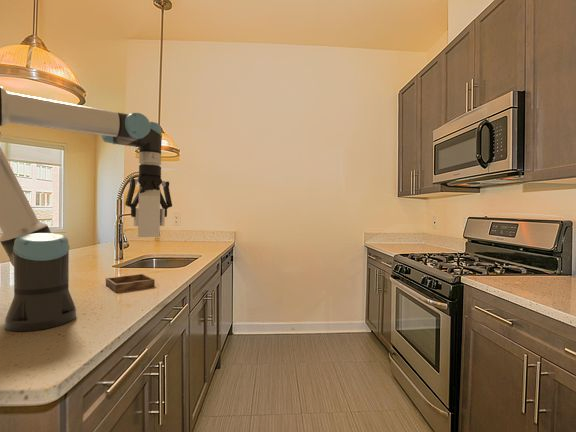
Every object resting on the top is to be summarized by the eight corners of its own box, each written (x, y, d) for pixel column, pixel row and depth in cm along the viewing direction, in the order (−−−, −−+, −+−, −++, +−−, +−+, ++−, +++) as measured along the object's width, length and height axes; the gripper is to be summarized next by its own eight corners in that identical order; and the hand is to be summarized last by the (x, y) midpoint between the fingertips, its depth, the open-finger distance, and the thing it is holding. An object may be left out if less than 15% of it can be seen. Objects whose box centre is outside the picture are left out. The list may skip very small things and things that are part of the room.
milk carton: (159, 237, 116) (160, 185, 116) (138, 237, 113) (138, 184, 113) (159, 235, 123) (160, 186, 122) (139, 235, 120) (139, 185, 120)
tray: (115, 292, 116) (115, 284, 116) (105, 285, 127) (105, 278, 127) (154, 286, 126) (154, 279, 126) (142, 280, 136) (142, 273, 136)
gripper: (121, 160, 108) (120, 227, 108) (182, 167, 122) (181, 226, 123) (115, 162, 113) (114, 225, 113) (174, 169, 128) (173, 225, 128)
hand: (149, 225), depth 118 cm, fingers closed on milk carton, 9 cm apart
